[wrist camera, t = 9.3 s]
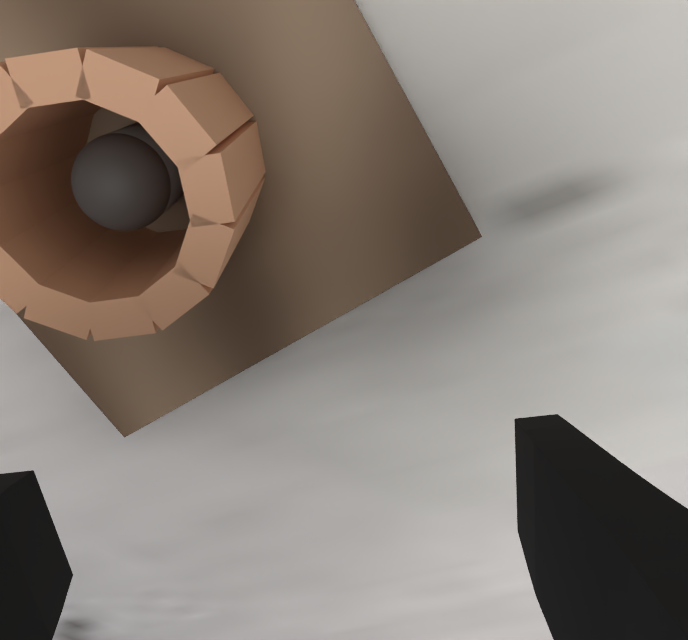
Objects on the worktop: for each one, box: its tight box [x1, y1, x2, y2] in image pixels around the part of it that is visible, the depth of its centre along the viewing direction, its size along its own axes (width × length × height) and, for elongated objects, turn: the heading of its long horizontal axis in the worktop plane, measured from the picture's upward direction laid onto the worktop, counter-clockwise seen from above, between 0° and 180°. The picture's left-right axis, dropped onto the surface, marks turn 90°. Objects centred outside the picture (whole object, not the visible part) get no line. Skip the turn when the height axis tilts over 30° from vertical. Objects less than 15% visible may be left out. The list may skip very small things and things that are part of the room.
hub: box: [0, 46, 266, 341], centre depth 14 cm, size 5×5×5 cm
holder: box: [0, 0, 482, 437], centre depth 15 cm, size 12×12×5 cm
